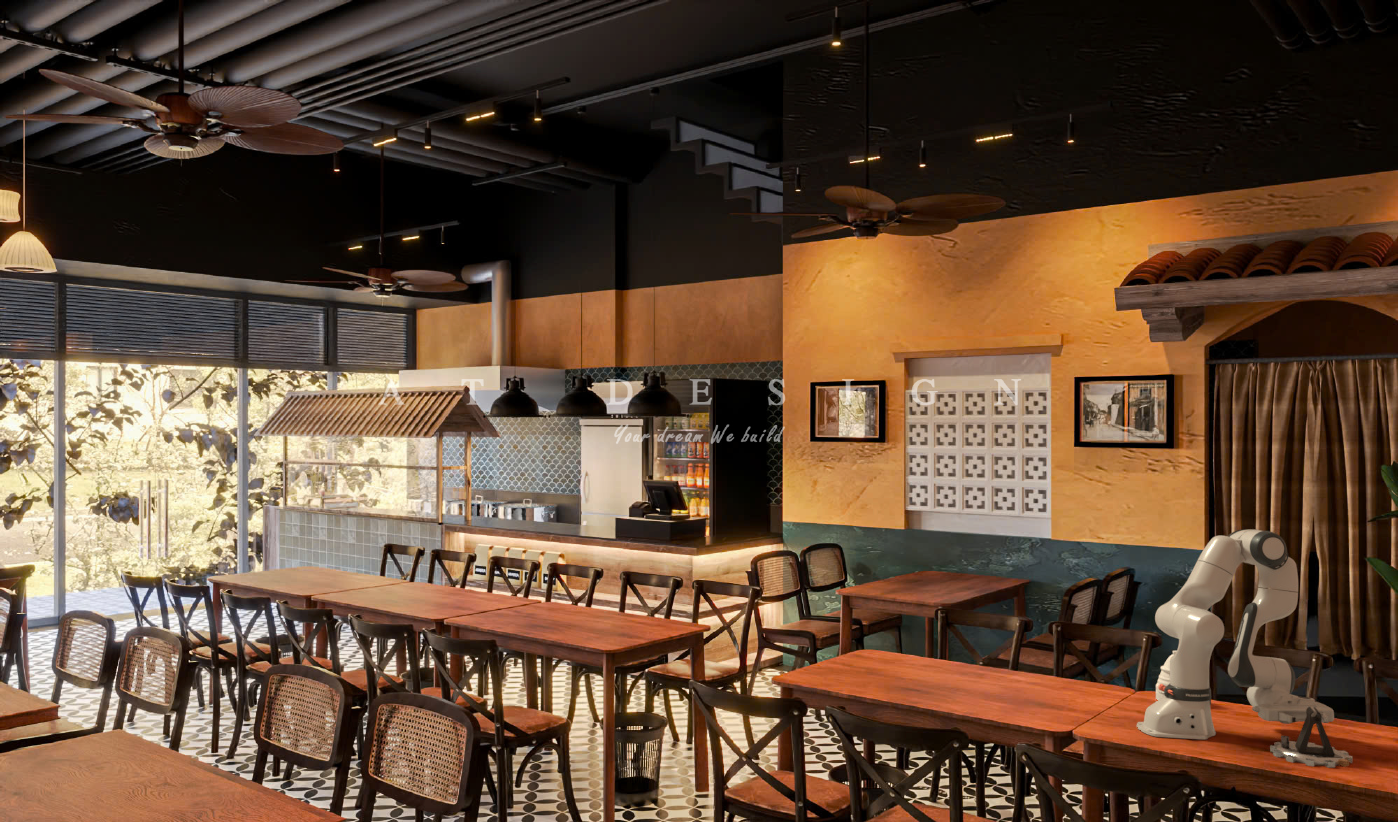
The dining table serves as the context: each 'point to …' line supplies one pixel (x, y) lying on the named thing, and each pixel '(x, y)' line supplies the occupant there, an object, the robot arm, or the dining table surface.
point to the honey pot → (1164, 677)
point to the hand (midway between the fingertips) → (1309, 719)
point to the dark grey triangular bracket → (1306, 733)
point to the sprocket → (1292, 754)
